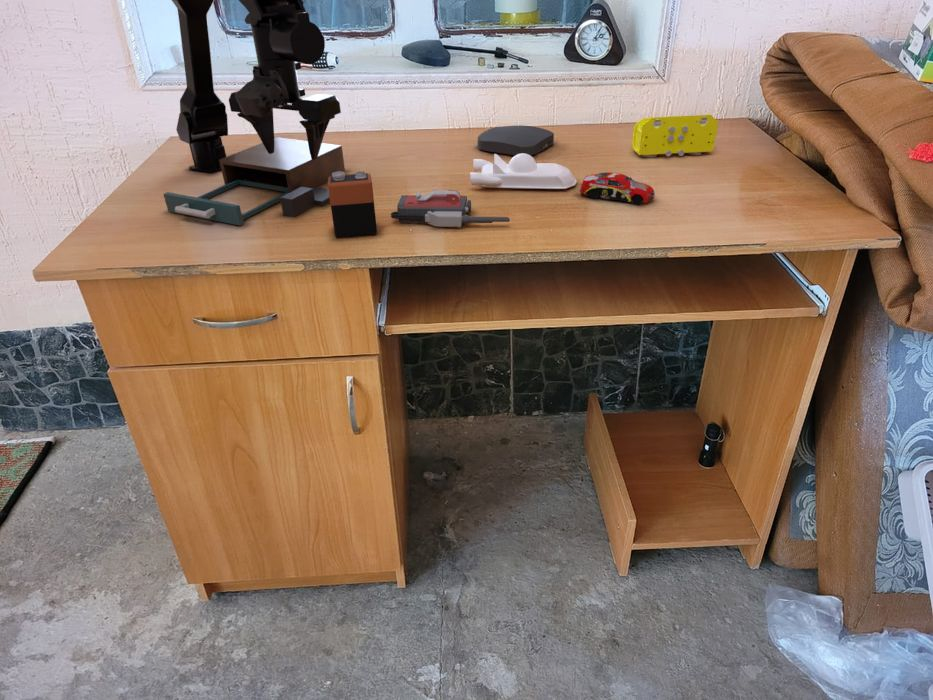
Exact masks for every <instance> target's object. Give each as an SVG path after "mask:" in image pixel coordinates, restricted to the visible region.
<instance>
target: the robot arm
mask: <svg viewBox="0 0 933 700" xmlns="http://www.w3.org/2000/svg"><path fill="white" fill-rule="evenodd" d="M171 2H172V3H173V5H174V6H175V7H176V9H177V15H178V23H179V32H180V40H181V47H182V48H181V49H182V57H183V66H184V72H185V73H184V74H185V82H186V88H185V90H184V92H183V93H182V95H181V97H180V99H179V114H178V119H177V124H176V129H175V130H176V133H177V135H178V138H179V140H180V141H182V142H183V143H186V144H188V145H189V149H190V150H189V151H190V153H191V157H192V161H193V165H190V166H189V167H188V169H189V171H195V172H202V173H209V174H213V173H215V172H218V171H220V170H221V166H220V161H219V160H220V159H223V158H225V157H227V153H226V149H225V145H224V144H223V140H222V137H227V136H229V123H228V122H229V121H228V114H227V107H226V104H225V103H224V102H223V100H222V99H221V98H220V96H218V94H217V93H216V91H215V87H214V77H213V66H212V55H211V54H212V53H211V43H210V32H209V22H208V13H209V11H210V9H211V7H212V5H213V3H214V2H215V0H171ZM238 2H239V3H240V4H242V6H243V7H244V8H245V9H246V10H247V12H248V14H247V15H246V16H245V18H244V23H245V24H246V25H250V28H251V33H252V38H253V44H254V48H255V49H254V50H255V54H256V55H255V56H256V60H257V65H253V66H252V74H253V76H252V77H253V78H252V79H251V80H250V81H248V82H246V83H245V84H244V85H243V86H242V87H241V88H240V89H238V90H237V91H234V92H231V93H230V95H229V98H228V103H229V104H228V105H229V108H230V112H232V113H237V114H236V115H237V116H238V118H242V119H244V120H245V121H247V122H249V124H250V125H251V126H252V127H253V129H254V131H255V132H256V134H257V136H258V137H259V140H260V141H261V143H263V145H264V146H265V148H266V150H267V152H268V153H269V154H272V153H274V145H275V142H274V138H275V126H274V125H275V124H274V109H276V110H285V111H295V112H298V115H299V116H300V117H301V118H302V120H301V119H300V120H299V124H300V125H301V126H302V127H303V128H304V129H305V133H306V141H308V146H309V151H310V155H311V159H312V160H315V159H317V157H318V154H319V150H320V147H321V144H322V143H323V140H324V137H325V133H326V131H327V128H328V126H329V123H330V122H331V120H332V119H335V118H336V115H339V114H342V111H341V104H340V100H339V99H338V98H337V97H336V95H335V94H327V93H326V94H324V93H316V94H312V95H309V96H307V97H305V96H306V90H305V88H300V84H299V78H298V70H301V69H302V64H303V65H314V64H316V63H318V61H320V60H321V58H322V57H323V55H324V52H325V48H326V46H325V45H326V42H325V41H326V39H325V37H324V35H323V33H322V30H321V29H320V28H319V27H318V25H316V24H315V23H314V22H312V21H311V20H310V19H311V18H310V13H309V12H308V11H306V8H305V7H304V1H303V0H238ZM302 97H303V98H302ZM221 171H222V170H221Z"/></svg>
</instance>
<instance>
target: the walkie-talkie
mask: <svg viewBox="0 0 933 700" xmlns="http://www.w3.org/2000/svg"><path fill="white" fill-rule="evenodd" d="M396 208H397V211H393V212H392V211H391V213H390V218H391V219H393V220H397V221H398V222H399V223H402V224H428V225H432V226H434V227H437V228H438V227H439V228H440V227H441V228H462V225H465V224H468V225H469V224H492V223H497V222H498V223H501V222H502V223H510V217H508V216H470V215H468V214H467V213H471V212H472V200H471V199H468V195H461V194H460V191H458V190H455V189H449V190H446V189H434V190H433V191H431V192H430V193H428V194H422V192H421V191H417V192H416V194H401V196H400V198H399V200H398V202H397V205H396Z"/></svg>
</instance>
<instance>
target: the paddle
mask: <svg viewBox="0 0 933 700" xmlns="http://www.w3.org/2000/svg"><path fill="white" fill-rule="evenodd" d="M279 202H280V206H281V211H282V215H283V216H287V217H292V218H296V217H298V216H299V215H301V214H303V213H305V212H307V211H309V210H310V209H312V208H313V207H324V206H326V205H328V204H330V197H329V190H328V188H325V187H321V186H317V187H315V188H306V187H300V188H298V189H296V190H294V191H292V192H290V193H288V194H286V195H284V196H282V197H280V201H279Z"/></svg>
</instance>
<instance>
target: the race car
mask: <svg viewBox="0 0 933 700" xmlns="http://www.w3.org/2000/svg"><path fill="white" fill-rule="evenodd" d="M579 192H580V193H581V194H583V195H585V196H587V197H588V196H589V197H590V198H591V199H592V200H597V199H599V198H600V199H606V200H614V201H621V202H629V203H632V204H633V205H635V206H640V205H641V204H642V203H643V204H645V203H649V202H651V201H653V200H654V199H655V196H656V195H655V194H656V193H655V190H654V188H653V187H652V186H651V185H650V184H647V183H644V182H640V181H637V180H634V179H632V177H629V176H628V175H625V174H623V173H619V172H599V173H595V174H588V175H586V176H584V178H583V180H582V182H581V184H580V189H579Z"/></svg>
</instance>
